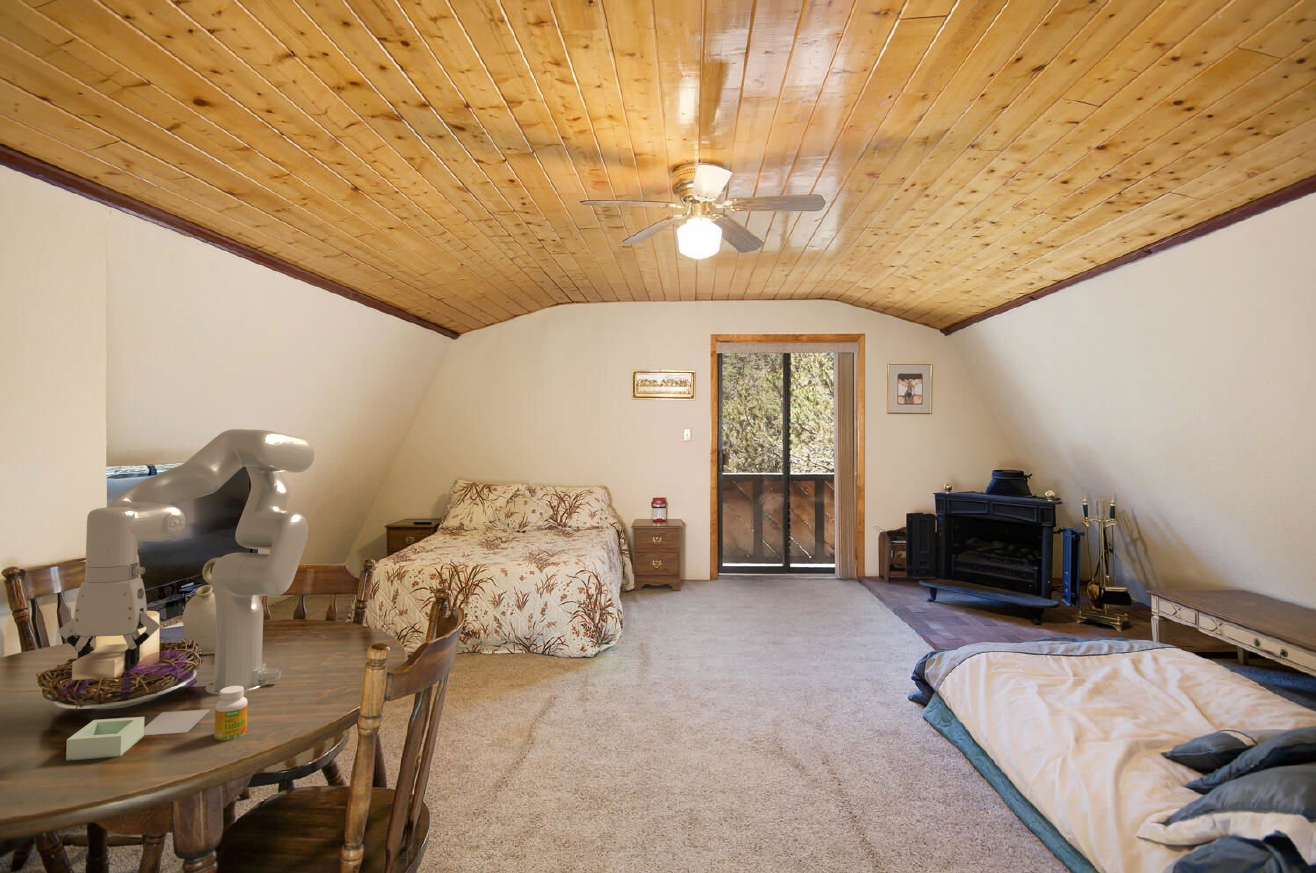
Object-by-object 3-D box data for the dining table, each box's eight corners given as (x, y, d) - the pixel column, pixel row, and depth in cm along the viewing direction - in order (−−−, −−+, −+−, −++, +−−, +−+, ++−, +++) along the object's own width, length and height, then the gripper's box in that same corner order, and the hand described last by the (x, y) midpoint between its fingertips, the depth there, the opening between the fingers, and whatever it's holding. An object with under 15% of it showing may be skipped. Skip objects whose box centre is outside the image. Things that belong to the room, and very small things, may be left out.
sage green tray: (143, 739, 130) (144, 716, 130) (120, 760, 122) (121, 735, 122) (93, 743, 128) (93, 720, 128) (66, 764, 120) (66, 739, 120)
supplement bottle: (222, 747, 128) (224, 696, 128) (208, 739, 131) (210, 690, 131) (252, 737, 133) (253, 688, 133) (238, 729, 135) (239, 682, 135)
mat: (210, 713, 143) (210, 709, 143) (187, 736, 132) (187, 732, 132) (161, 716, 141) (161, 712, 141) (134, 739, 130) (134, 735, 130)
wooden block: (142, 659, 131) (142, 643, 131) (114, 677, 121) (114, 660, 121) (103, 661, 129) (104, 644, 129) (71, 679, 119) (72, 662, 119)
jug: (210, 660, 175) (213, 564, 174) (167, 652, 179) (170, 559, 179) (261, 643, 189) (263, 555, 189) (220, 636, 194) (222, 550, 194)
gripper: (173, 568, 131) (171, 660, 131) (69, 570, 126) (66, 665, 126) (155, 577, 123) (152, 673, 123) (43, 579, 119) (40, 679, 119)
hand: (108, 668), depth 125 cm, fingers closed on wooden block, 6 cm apart
